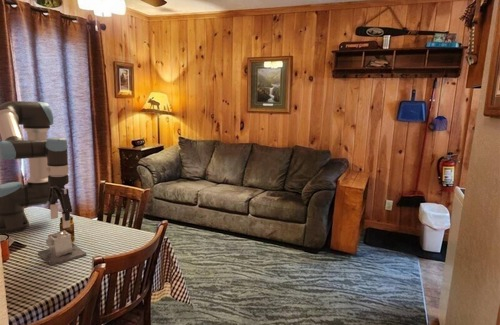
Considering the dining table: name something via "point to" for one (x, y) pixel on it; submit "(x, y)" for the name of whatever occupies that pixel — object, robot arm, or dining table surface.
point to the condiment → (69, 229)
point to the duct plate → (66, 257)
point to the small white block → (59, 244)
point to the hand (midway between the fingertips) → (60, 222)
